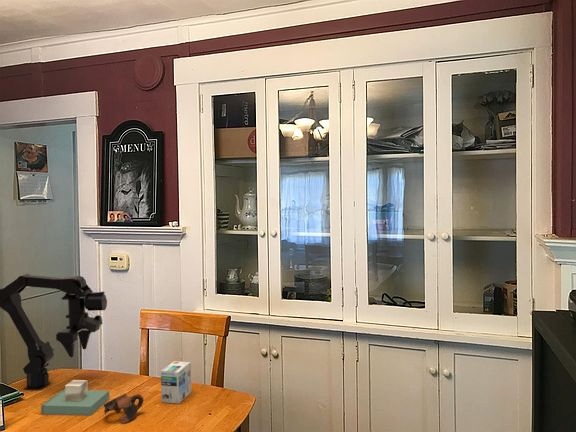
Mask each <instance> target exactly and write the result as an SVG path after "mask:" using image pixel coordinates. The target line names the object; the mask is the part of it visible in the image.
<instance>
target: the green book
mask: <svg viewBox="0 0 576 432" xmlns="http://www.w3.org/2000/svg"><path fill="white" fill-rule="evenodd" d="M109 400H110V390H98V389H97V390H94V389H91V390H90V389H88V395H87V396H86V397H85V398H83V399H82V400H81V401H66V399H65V389H64V388H63V389H62V390H61V391H58V393H56V394H55V395H53V396H52V397H51V398H49V399H48V400H46V401H44V403H42V404H41V407H40V408H41V409H40V410H41V413H40V414H41V415H52V416H53V415H55V416H56V415H58V416H59V415H63V416H65V415H66V416H92V415H93V414H94V413H95V412H96V411H98V409H100V408H101V407H102V406H103V405H104V404H106V403H107V402H108V401H109Z"/></svg>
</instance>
